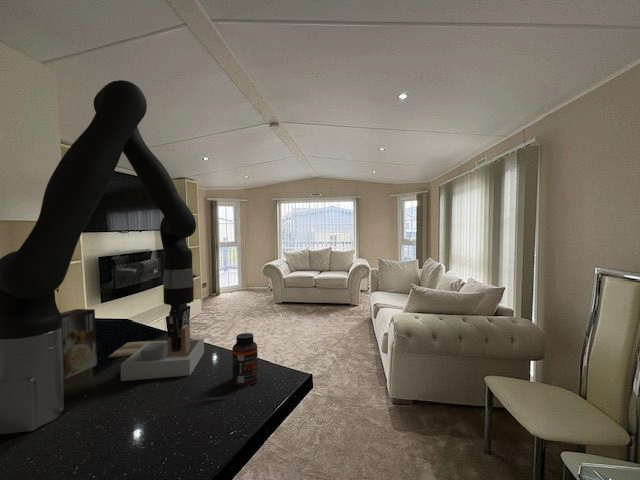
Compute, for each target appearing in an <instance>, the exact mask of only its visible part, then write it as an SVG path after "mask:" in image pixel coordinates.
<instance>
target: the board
mask: <svg viewBox="0 0 640 480" xmlns="http://www.w3.org/2000/svg"><path fill="white" fill-rule="evenodd" d="M162 341H167V340H166V339H161V340H145V341H131V342H129V341H128V342H126V343H125V344H124V345H122V346H121V347H119V348H118V349H116V350H114V352H113V353H111V354H110V355H109V356H108V357H107V358H108V359H111V358H124V357H125V358H126V357H130V356H132V355H133V354H134V353H135V352H136V351H138V350H139V349H140V348H141V347H142V346H144V345H145V344H146V343H147V342H162Z"/></svg>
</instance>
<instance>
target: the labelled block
mask: <svg viewBox="0 0 640 480" xmlns="http://www.w3.org/2000/svg"><path fill="white" fill-rule="evenodd" d="M174 332H175V329H174ZM190 340H191V324H190V323H189V324H186V325H184V327H183V328H182V329H181V350H180V351H177V352H172V348H171V338H170V337H168V336H167V341H168V356H177V355H186V354H187V353H188V351H189V350H190Z"/></svg>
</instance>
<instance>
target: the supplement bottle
mask: <svg viewBox="0 0 640 480" xmlns="http://www.w3.org/2000/svg"><path fill="white" fill-rule="evenodd" d="M235 337H236V340H235V344H234V345H232V351H231V352H232V353H231V354H232V355H231V357H232V383H233V384H234V385H236V386H247V385H251V386H253V385H254V384H256V383H257V382H258V379H259V378H258V377H259V375H258V374H259V373H258V371H259V367H258V365H259V364H258V360H259V359H258V357H259V356H258V354H259V353H258V344H257V343H256V342H255V341H254V334H253V333H249V332H246V333H245V332H244V333H240V334H237V335H236V336H235Z"/></svg>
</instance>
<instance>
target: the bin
mask: <svg viewBox="0 0 640 480" xmlns="http://www.w3.org/2000/svg"><path fill="white" fill-rule="evenodd" d="M159 344H165V360H155V361H142V362H141V350H143V349H144V348H145V347H146V346H147V345H159ZM204 353H205V338H198V339H197V338H195V339H193V338H192V339H190V350H189V351H188V353H187V354H186V355H177V356H168V340H166V341H162V342H147V343H146V344H145V345H144V346H142V347H141V348H140V349H139V350H138V351H136V352H135V353H134V354H133V355H132V356H128V358H126V359H125V360H124V361H123V362H122V363H121V364H120V382H125V381H126V382H129V381H139V380H140V381H141V380H149V379H151V380H152V379H164V378H173V377H174V378H175V377H186V376H187V377H188V376H191V375H192V373H193V372H194V370H195V368H196V366H197V365H198V363H199V361H200V360H201V358H202V357H203V355H204Z"/></svg>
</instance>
